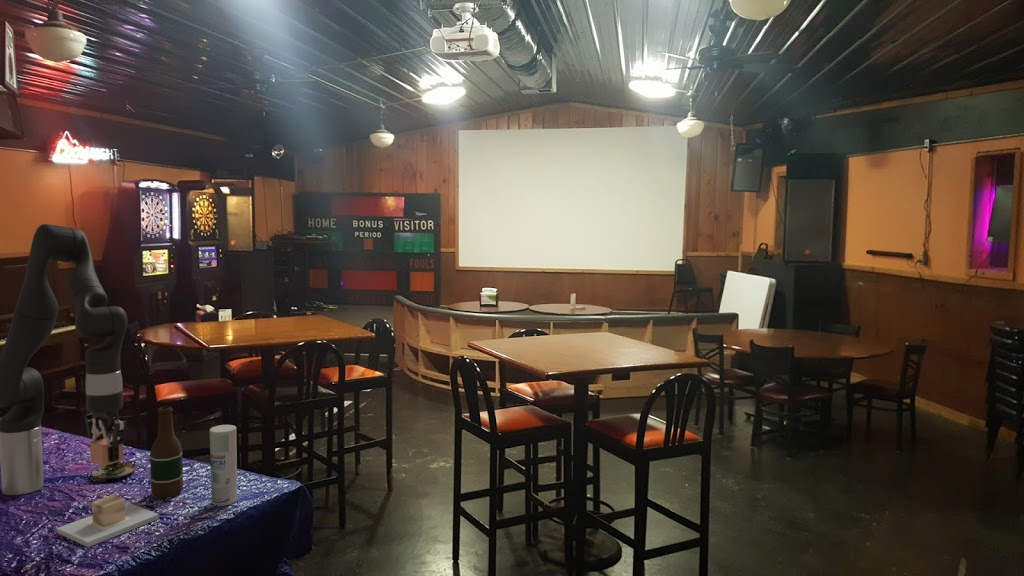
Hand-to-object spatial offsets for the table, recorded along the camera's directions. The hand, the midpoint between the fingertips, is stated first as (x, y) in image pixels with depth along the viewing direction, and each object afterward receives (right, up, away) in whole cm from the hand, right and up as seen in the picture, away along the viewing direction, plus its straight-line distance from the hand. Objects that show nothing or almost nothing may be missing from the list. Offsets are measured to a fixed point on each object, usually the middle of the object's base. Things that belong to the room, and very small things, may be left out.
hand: (107, 458), depth 159 cm
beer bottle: (+4, -15, +21) cm, 26 cm away
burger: (-18, -14, +33) cm, 40 cm away
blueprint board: (0, -17, +2) cm, 17 cm away
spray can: (+21, -16, +17) cm, 31 cm away
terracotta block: (0, -1, 0) cm, 1 cm away
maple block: (0, -16, +2) cm, 16 cm away
